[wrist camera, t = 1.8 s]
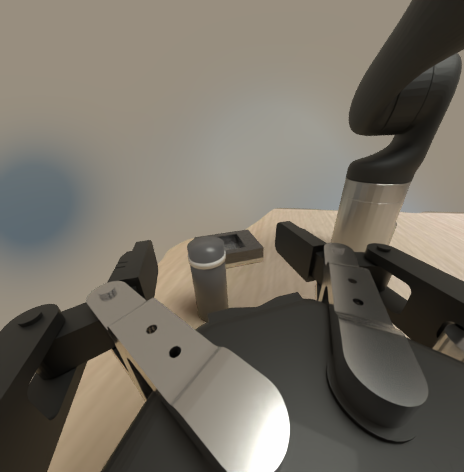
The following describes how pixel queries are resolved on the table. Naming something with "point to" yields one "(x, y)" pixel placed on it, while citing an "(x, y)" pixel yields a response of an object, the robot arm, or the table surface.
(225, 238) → the dark rectangular frame
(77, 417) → the table surface
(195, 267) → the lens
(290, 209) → the table surface
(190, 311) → the table surface
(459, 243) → the table surface
